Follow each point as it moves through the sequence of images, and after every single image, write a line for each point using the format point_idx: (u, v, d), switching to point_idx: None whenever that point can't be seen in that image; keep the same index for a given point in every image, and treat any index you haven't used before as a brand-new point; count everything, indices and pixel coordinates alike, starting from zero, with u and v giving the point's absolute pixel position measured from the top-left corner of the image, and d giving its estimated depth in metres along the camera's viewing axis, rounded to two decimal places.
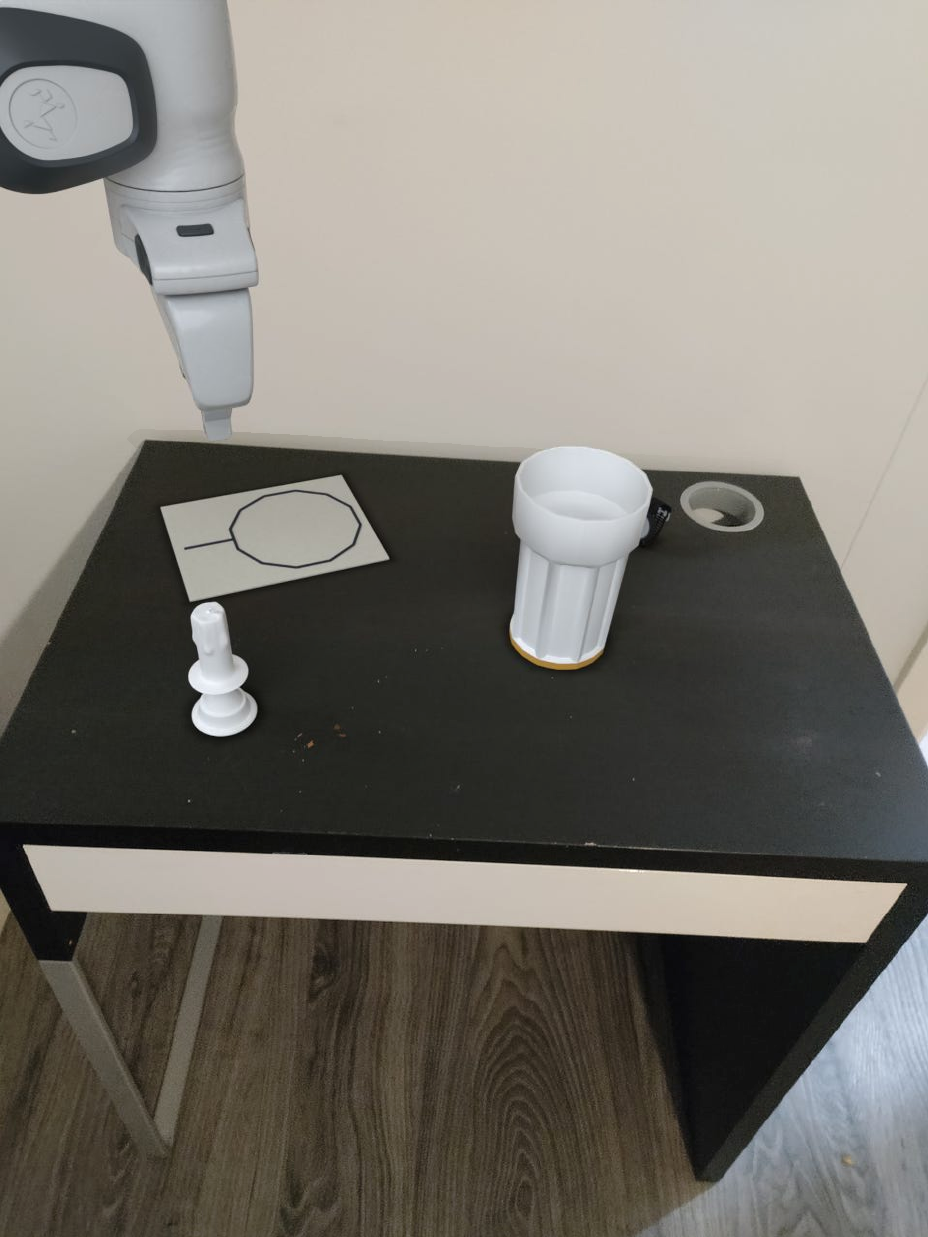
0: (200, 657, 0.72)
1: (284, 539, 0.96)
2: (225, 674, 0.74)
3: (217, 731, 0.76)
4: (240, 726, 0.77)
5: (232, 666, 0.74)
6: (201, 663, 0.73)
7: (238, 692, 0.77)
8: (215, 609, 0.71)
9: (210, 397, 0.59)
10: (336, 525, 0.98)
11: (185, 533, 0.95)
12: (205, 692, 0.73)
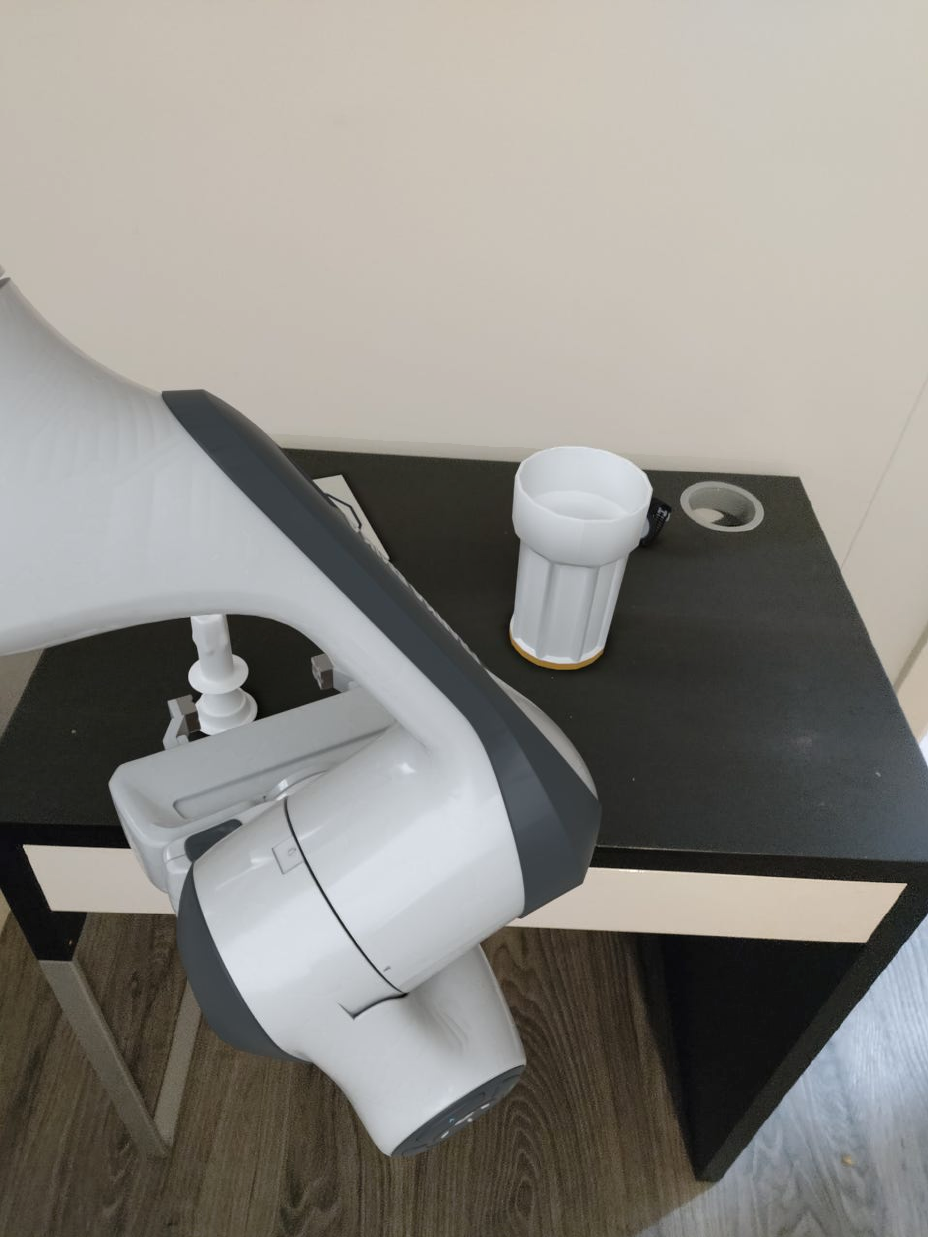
0: (200, 657, 0.72)
1: None
2: (225, 674, 0.74)
3: (217, 731, 0.76)
4: None
5: (232, 666, 0.74)
6: (201, 663, 0.73)
7: (238, 692, 0.77)
8: None
9: (111, 794, 0.52)
10: None
11: None
12: (205, 692, 0.73)
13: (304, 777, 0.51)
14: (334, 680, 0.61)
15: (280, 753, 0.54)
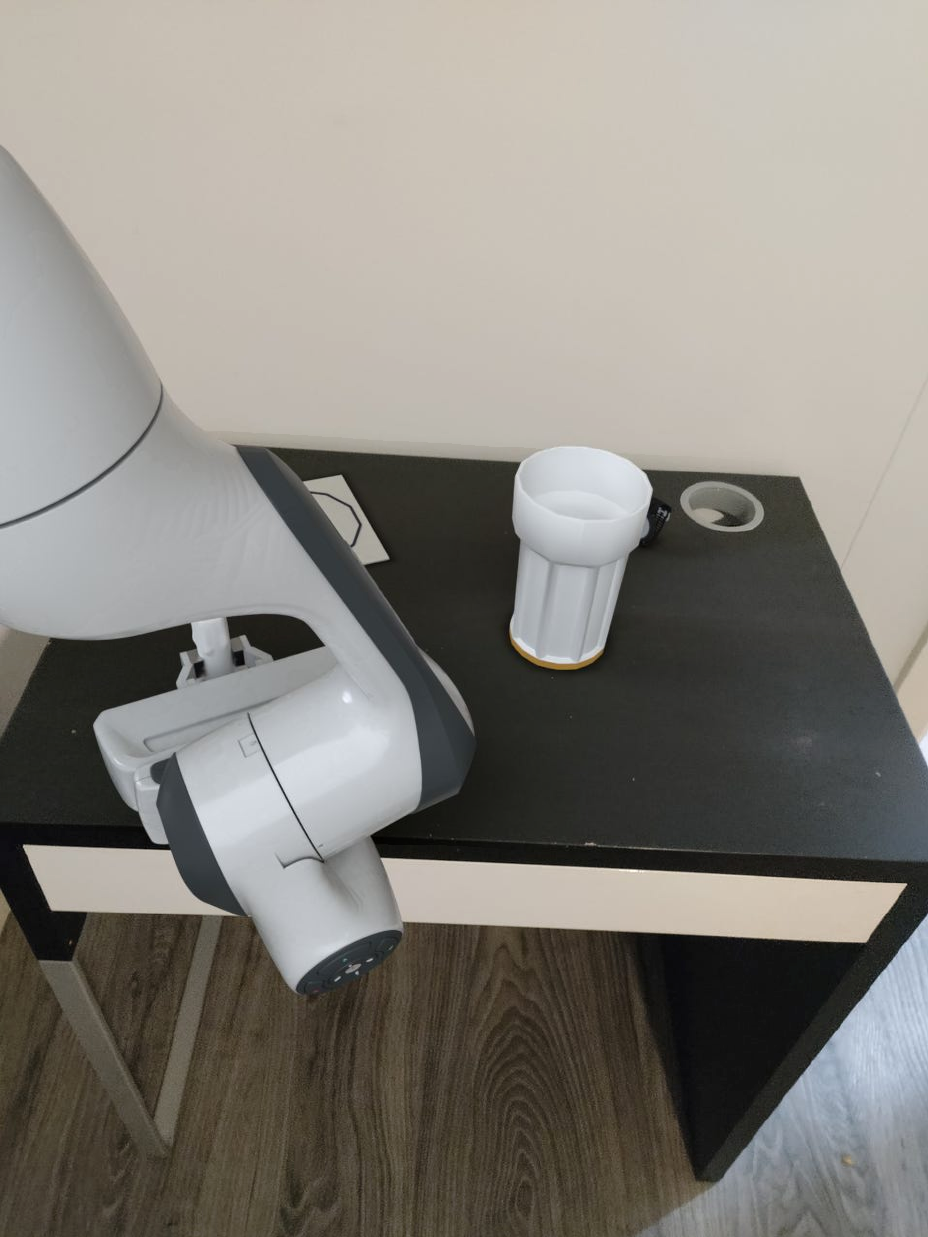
0: None
1: None
2: (225, 674, 0.74)
3: None
4: None
5: (232, 666, 0.74)
6: None
7: None
8: None
9: (95, 733, 0.66)
10: (336, 525, 0.98)
11: None
12: None
13: None
14: (245, 659, 0.74)
15: (230, 704, 0.68)
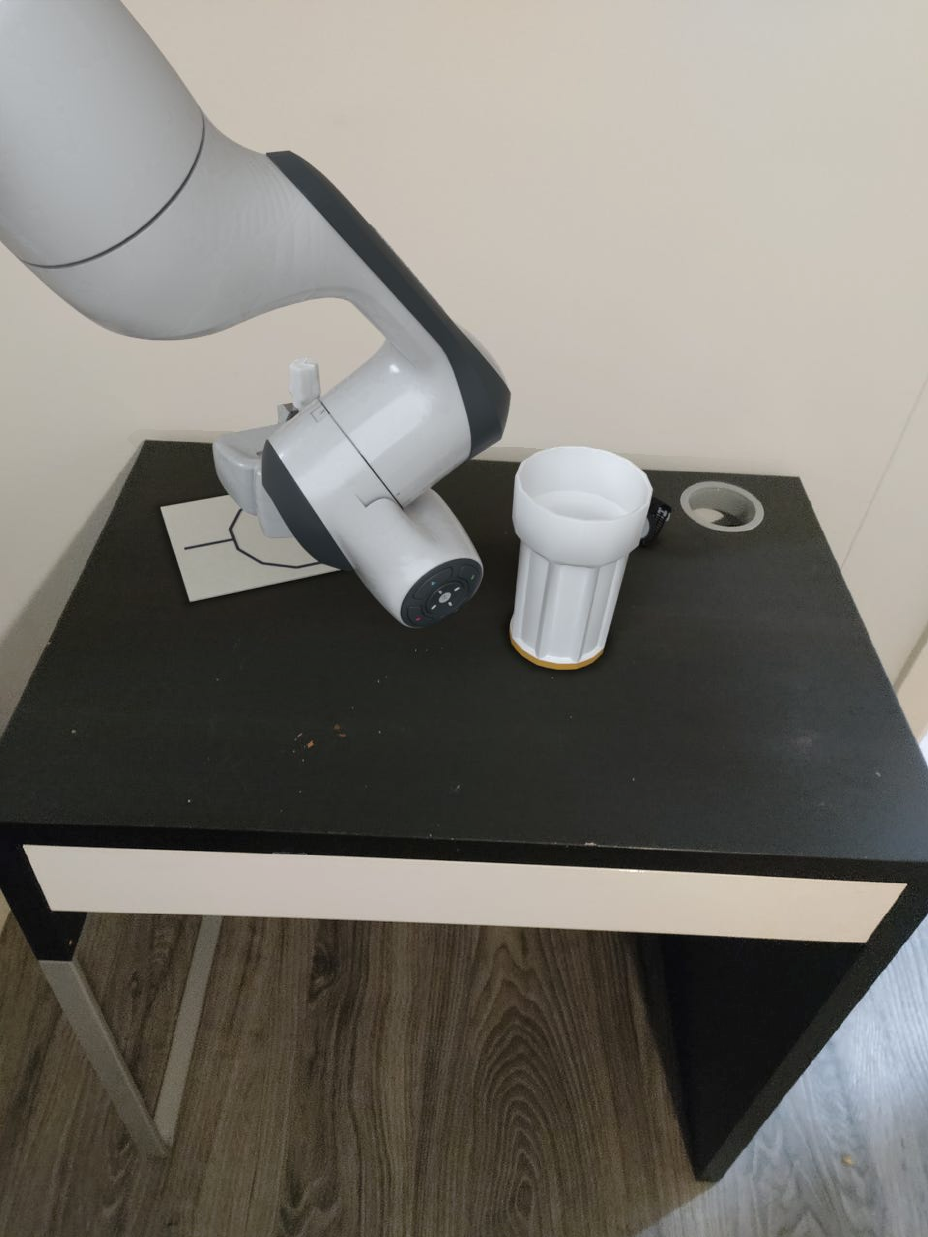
0: None
1: (284, 539, 0.96)
2: None
3: None
4: None
5: None
6: None
7: None
8: (309, 362, 0.83)
9: (214, 452, 0.78)
10: None
11: (185, 533, 0.95)
12: None
13: None
14: None
15: None
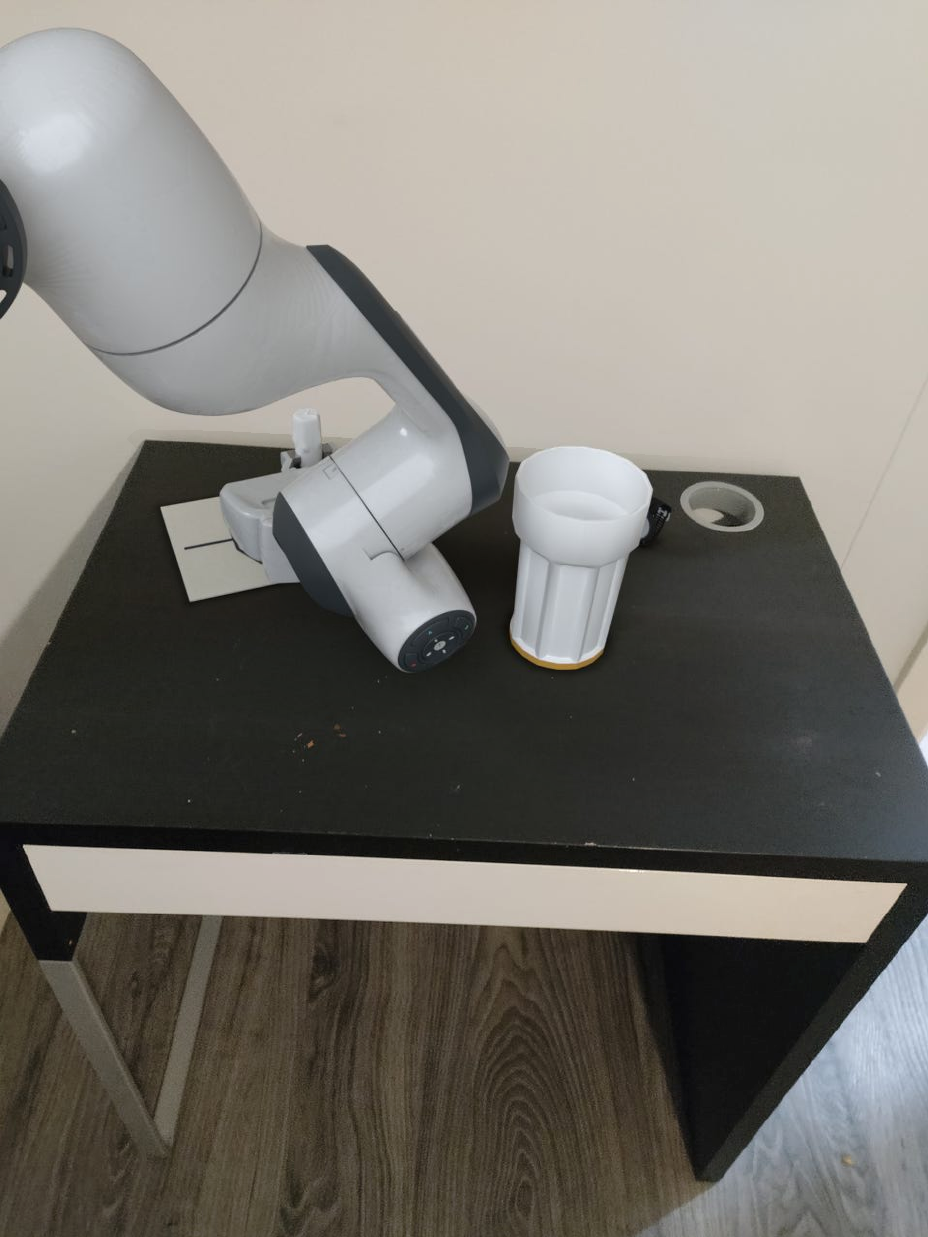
0: None
1: None
2: None
3: None
4: None
5: None
6: None
7: None
8: (311, 412, 0.87)
9: (221, 500, 0.82)
10: None
11: (185, 533, 0.95)
12: None
13: None
14: (333, 460, 0.90)
15: None
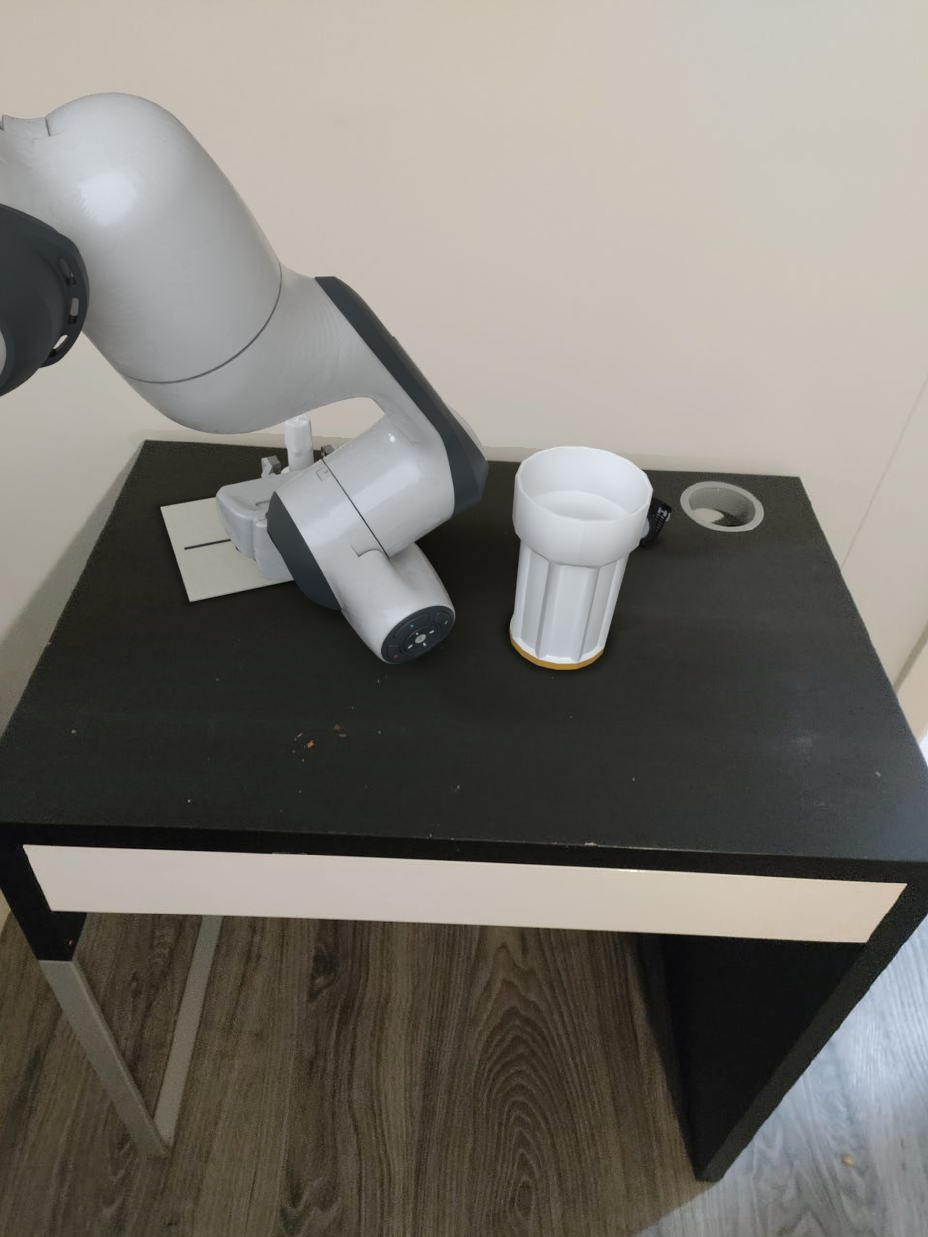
0: (290, 459, 0.94)
1: None
2: None
3: None
4: None
5: None
6: (290, 464, 0.94)
7: None
8: (303, 418, 0.92)
9: (217, 501, 0.87)
10: None
11: (185, 533, 0.95)
12: None
13: None
14: None
15: None
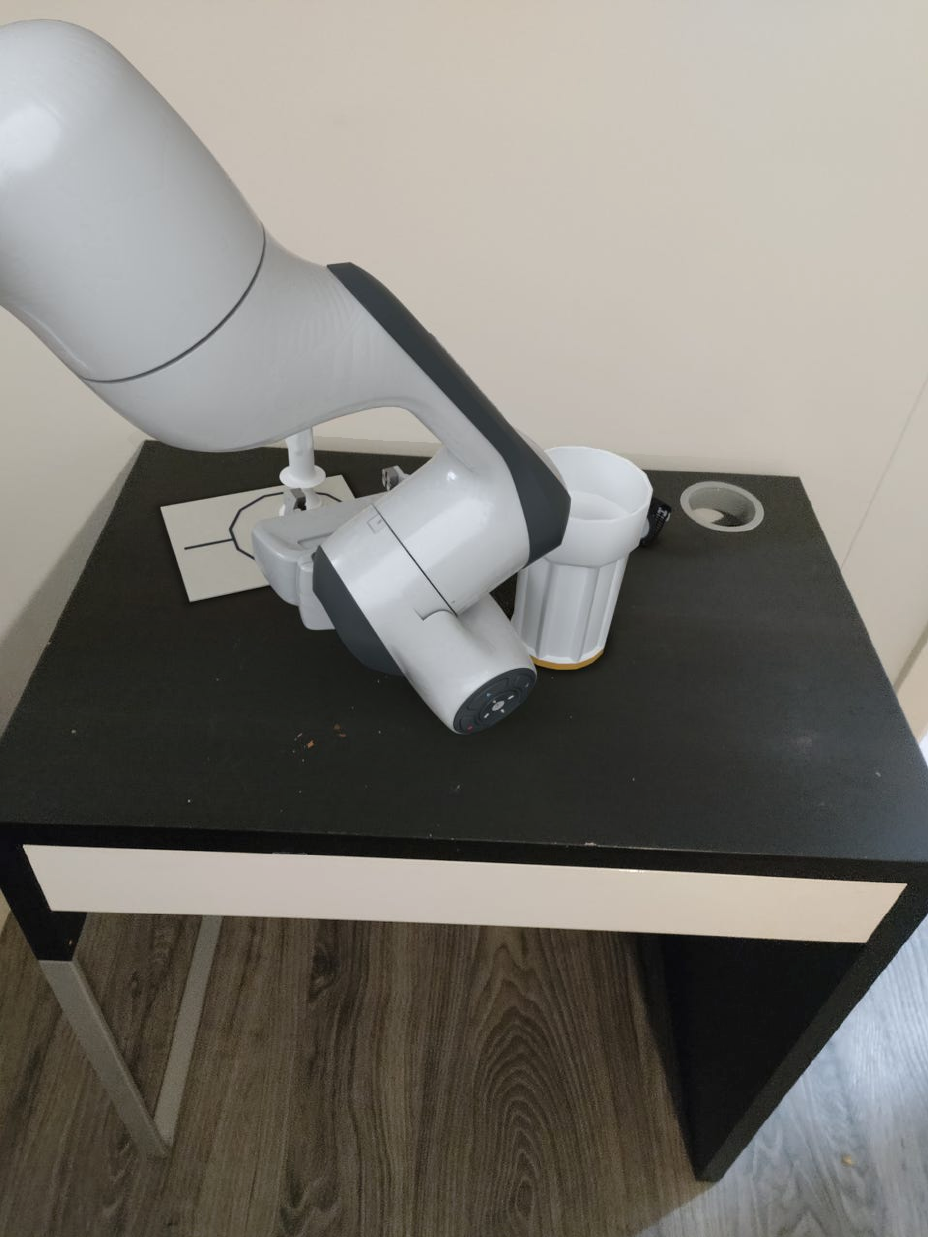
0: (290, 458, 0.94)
1: None
2: (309, 474, 0.95)
3: None
4: None
5: (314, 469, 0.95)
6: (291, 463, 0.94)
7: (316, 494, 0.98)
8: None
9: (253, 538, 0.76)
10: None
11: (185, 533, 0.95)
12: (293, 486, 0.94)
13: None
14: None
15: None
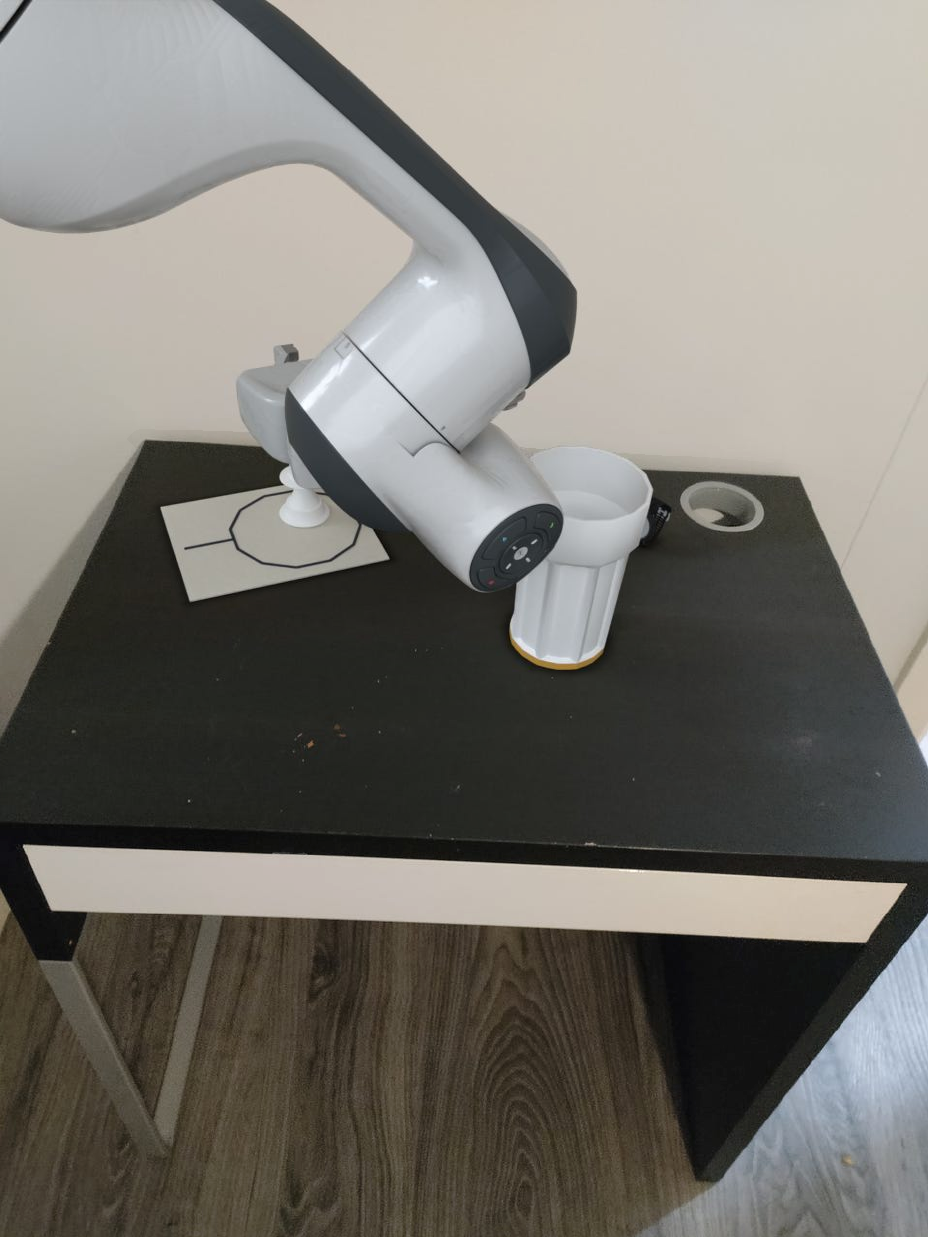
0: None
1: (284, 539, 0.96)
2: None
3: (300, 523, 0.97)
4: (317, 520, 0.98)
5: None
6: None
7: (316, 495, 0.98)
8: None
9: (238, 389, 0.67)
10: (336, 525, 0.98)
11: (185, 533, 0.95)
12: (293, 487, 0.94)
13: None
14: None
15: None
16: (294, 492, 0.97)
